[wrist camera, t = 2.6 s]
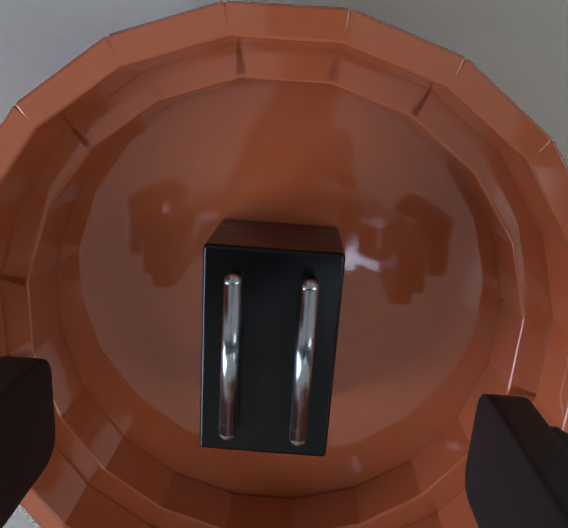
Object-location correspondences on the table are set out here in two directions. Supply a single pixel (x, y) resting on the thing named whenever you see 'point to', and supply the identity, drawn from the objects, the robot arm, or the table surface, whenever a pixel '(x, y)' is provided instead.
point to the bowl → (280, 209)
